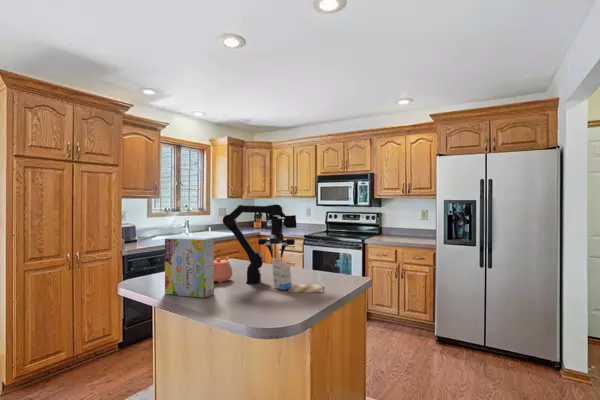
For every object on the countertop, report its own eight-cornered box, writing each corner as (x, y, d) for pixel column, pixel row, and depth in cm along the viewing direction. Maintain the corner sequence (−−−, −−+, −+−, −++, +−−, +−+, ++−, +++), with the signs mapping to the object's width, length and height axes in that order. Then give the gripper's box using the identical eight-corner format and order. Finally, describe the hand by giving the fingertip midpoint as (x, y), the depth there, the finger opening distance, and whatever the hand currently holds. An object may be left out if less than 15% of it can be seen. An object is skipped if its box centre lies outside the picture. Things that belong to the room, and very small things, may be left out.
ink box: (292, 288, 160) (290, 257, 160) (284, 290, 157) (281, 259, 157) (281, 285, 167) (279, 256, 167) (273, 287, 163) (271, 257, 164)
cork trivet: (288, 292, 155) (288, 291, 155) (291, 285, 168) (291, 284, 168) (322, 293, 154) (322, 291, 154) (323, 285, 166) (323, 284, 166)
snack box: (215, 293, 153) (215, 237, 153) (204, 299, 145) (203, 239, 145) (176, 289, 160) (176, 236, 160) (163, 294, 152) (163, 238, 152)
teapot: (239, 277, 186) (239, 255, 186) (221, 286, 167) (221, 261, 167) (217, 276, 190) (217, 254, 190) (197, 284, 170) (197, 260, 170)
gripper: (255, 229, 168) (255, 260, 168) (292, 229, 166) (292, 261, 166) (260, 227, 179) (260, 256, 179) (295, 227, 178) (295, 257, 177)
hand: (276, 258), depth 175 cm, fingers open, 4 cm apart
